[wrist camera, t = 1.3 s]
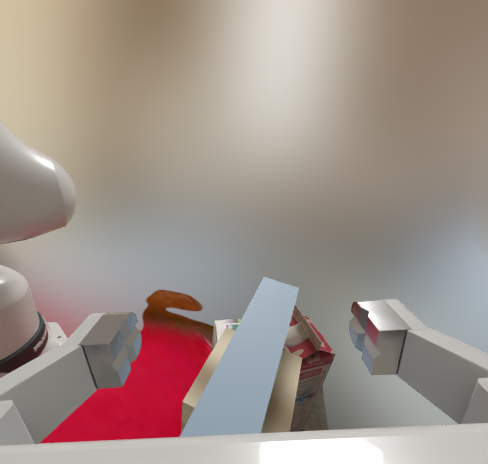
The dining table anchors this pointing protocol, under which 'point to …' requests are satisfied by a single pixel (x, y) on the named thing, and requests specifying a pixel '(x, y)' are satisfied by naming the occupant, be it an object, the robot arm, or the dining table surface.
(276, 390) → the post
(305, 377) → the juice carton
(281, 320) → the bar
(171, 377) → the dining table surface
